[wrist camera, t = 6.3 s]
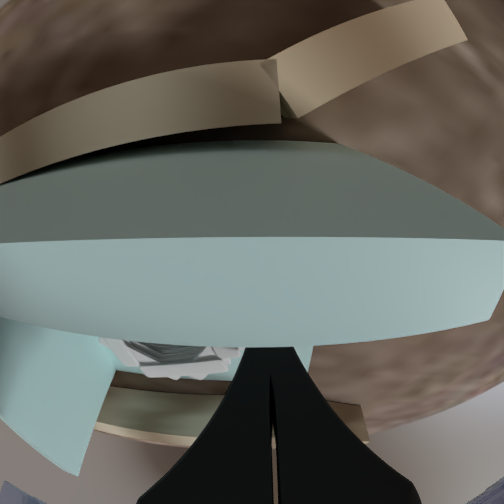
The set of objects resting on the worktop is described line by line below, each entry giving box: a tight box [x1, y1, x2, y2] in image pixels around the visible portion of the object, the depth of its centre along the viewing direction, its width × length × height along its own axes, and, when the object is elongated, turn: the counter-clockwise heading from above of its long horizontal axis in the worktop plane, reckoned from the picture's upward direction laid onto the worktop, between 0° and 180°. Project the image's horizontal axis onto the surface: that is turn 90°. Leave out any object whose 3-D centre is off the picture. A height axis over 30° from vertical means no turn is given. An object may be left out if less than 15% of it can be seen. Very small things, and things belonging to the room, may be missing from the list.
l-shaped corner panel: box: [0, 140, 504, 476], centre depth 8 cm, size 12×12×8 cm
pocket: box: [0, 0, 468, 447], centre depth 10 cm, size 21×23×3 cm
